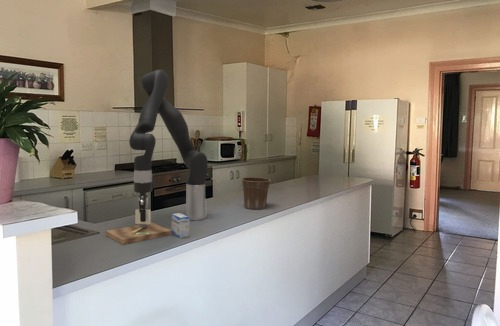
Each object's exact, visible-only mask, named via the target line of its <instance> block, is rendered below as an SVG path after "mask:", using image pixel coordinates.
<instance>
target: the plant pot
mask: <svg viewBox="0 0 500 326" xmlns="http://www.w3.org/2000/svg"><path fill="white" fill-rule="evenodd" d="M241 181H242V187H243V188H242V189H243V207H244V208H245V209H248V210H257V209H258V210H264V209H266V208H267V200H268V199H267V198H268V192H269V188H270V182H271V181H272V180H271V179H270V178H266V177H258V176H257V177H252V176H251V177H243V178H241Z"/></svg>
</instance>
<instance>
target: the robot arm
mask: <svg viewBox="0 0 500 326" xmlns="http://www.w3.org/2000/svg"><path fill="white" fill-rule="evenodd" d="M169 80H170V79H169V76H168V74H167V73H166V72H165V71H164V70H162V69H156V70H153V71H151V72H149V73H148V72H147V73H146V74H144V75H142V77H141V80H140V81H141V85H142V88H143V91H144V92H145V93H146V95H147V96H148V99H147V101H146V102H145V103H144V105H143V106H142V109H141V111H140V113H139V118H138V122H137V124H136V126H135V128H134V130H133V131H132V133H131V134H130V137H129V141H128V142H129V147H130V148H131V149H132V150H134V151H145V153H143V155H142V154H141V155H137V156H134V161H133V166H134V168H133V169H134V172H133V191H134V193H136V194H139V195H138V197H137V201H138V209H139V213H140V221H141V222H145V221H146V209H148V204H149V201H148V200H149V195H147V193H148V194H149V193H151V192H152V191H153V172H152V159H153V155H154V154H153V153H154V150H155V147H156V142H157V140H156V137H155V135H154V134H152V132H153V131H154V130H155V127H156V124H157V123H156V122H157V118H158V117H157V116H158V114H159V116H160V118H161V119H162V121H163V124H164V125H165V127H166V129H167V131H168V132H169V134H170V136H171V138H172V140H173V142H174V143H175V144H176V147H177V148H178V151H179V153H180V155H181V158H182V160H183V161H182V162H183V163H184V165H185V166H186V167H187V168H188V169H189V176H187V178H186V180H185V181H186V185H185V186H186V189H185V191H186V193H185V194H186V195H185V197H186V198H185V201H186V202H185V205H186V206H185V210H186V211H185V212H186V213H185V215H186V216H188V217H189V221H199V220H204V219H206V218H207V216H208V215H207V212H208V211H207V209H208V208H207V207H208V206H207V205H208V202H207V198H206V180H207V177H208V165H209V164H208V158H207V155H206V154H205V153H203V152H202V151H197V149H196V148H195V146H194V145H193V143H192V141H191V137H190V132H189V127H188V124H187V121H186V120H185V118H184V116H183V114H182V113H181V111H180V110H179V109H178V108H176V107H175V106H173V105H172V104H171V103H170V102H168V101H167V100H166V99H165V98H164V97H165V95H166V92H167V90H168V88H169V84H170V83H169V82H170V81H169ZM141 209H144V210H141Z"/></svg>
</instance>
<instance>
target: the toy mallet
mask: <svg viewBox="0 0 500 326" xmlns="http://www.w3.org/2000/svg"><path fill="white" fill-rule="evenodd" d="M141 210H144V209H141ZM151 213H152V212H151V209H148V208H147V209H146V221H145V222H141V221H140V213H139V208H136V209H135V213H134V214H135V220H134V222H135V224H138V225H139V228H138V229H137V230H135V231H133V232H132V234H134V233H136V232H137V231H139V230H141V229H146V228H147V224H150V223H152V221H151V216H152V215H151Z"/></svg>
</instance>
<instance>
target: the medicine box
mask: <svg viewBox="0 0 500 326" xmlns="http://www.w3.org/2000/svg"><path fill="white" fill-rule="evenodd" d="M171 230H172V235H174V237H175V236H176V237H177V238H180V239H181V238H188V237H190V220H189V217H188V216H186V214H183V213H181V212H178V213H172V214H171Z"/></svg>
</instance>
